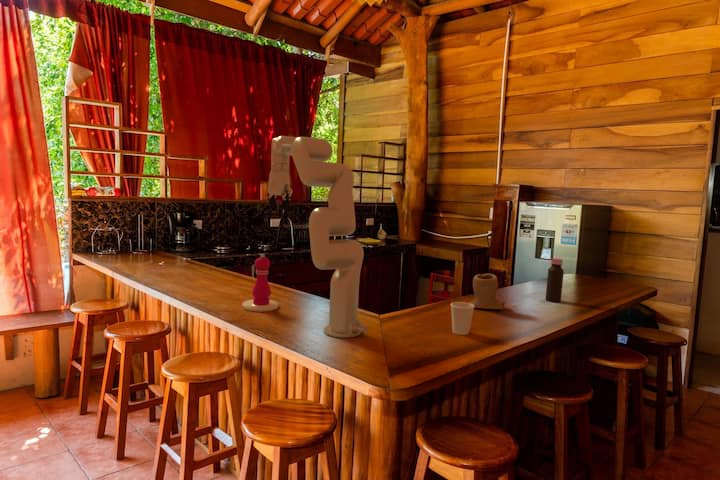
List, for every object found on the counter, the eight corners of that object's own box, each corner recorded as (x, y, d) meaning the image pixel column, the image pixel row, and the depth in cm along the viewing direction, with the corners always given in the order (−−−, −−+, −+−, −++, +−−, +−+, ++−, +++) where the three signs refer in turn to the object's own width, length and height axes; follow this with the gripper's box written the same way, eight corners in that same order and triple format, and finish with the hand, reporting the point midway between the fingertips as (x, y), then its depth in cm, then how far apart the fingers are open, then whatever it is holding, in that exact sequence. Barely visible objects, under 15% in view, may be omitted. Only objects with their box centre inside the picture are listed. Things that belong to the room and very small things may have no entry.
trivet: (285, 306, 191) (285, 302, 191) (262, 313, 179) (262, 309, 179) (258, 300, 198) (258, 297, 198) (234, 307, 186) (234, 303, 186)
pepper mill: (273, 302, 190) (275, 253, 188) (265, 306, 184) (266, 255, 181) (257, 300, 192) (258, 251, 190) (248, 304, 185) (249, 253, 183)
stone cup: (469, 310, 200) (471, 275, 198) (468, 303, 211) (471, 270, 210) (506, 314, 197) (509, 278, 195) (504, 307, 208) (507, 273, 206)
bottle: (558, 299, 229) (562, 258, 226) (562, 303, 222) (566, 260, 220) (543, 298, 229) (547, 257, 227) (547, 302, 223) (551, 259, 220)
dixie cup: (455, 327, 174) (457, 300, 172) (476, 332, 168) (478, 305, 167) (444, 332, 167) (446, 304, 166) (465, 337, 162) (468, 309, 161)
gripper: (261, 167, 202) (260, 207, 204) (284, 167, 190) (283, 210, 192) (275, 168, 207) (274, 207, 209) (299, 168, 195) (298, 210, 197)
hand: (278, 209), depth 201 cm, fingers open, 9 cm apart
